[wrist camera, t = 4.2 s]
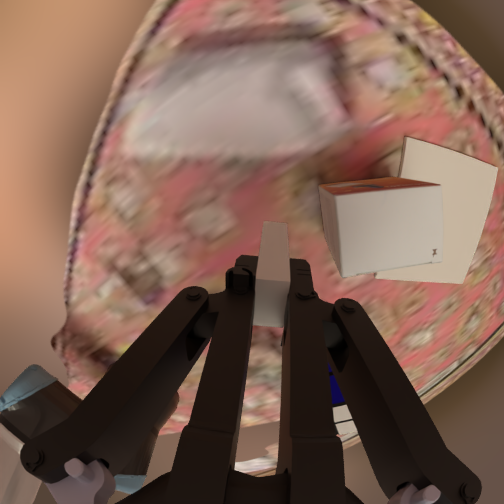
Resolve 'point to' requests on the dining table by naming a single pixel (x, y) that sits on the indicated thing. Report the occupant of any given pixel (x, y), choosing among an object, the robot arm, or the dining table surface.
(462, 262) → the mat
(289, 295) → the robot arm
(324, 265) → the dining table surface
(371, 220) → the small box
